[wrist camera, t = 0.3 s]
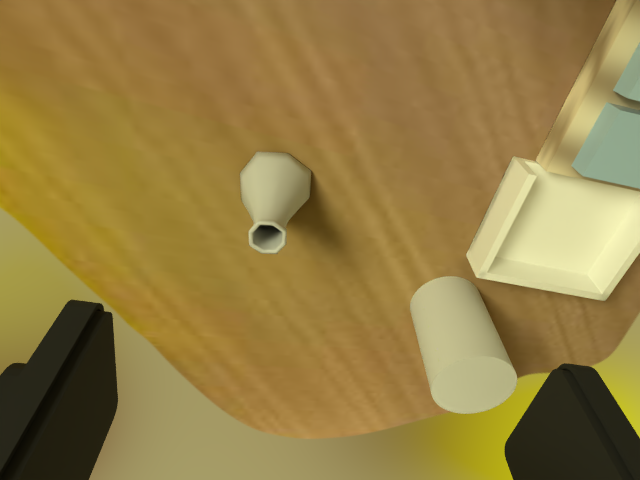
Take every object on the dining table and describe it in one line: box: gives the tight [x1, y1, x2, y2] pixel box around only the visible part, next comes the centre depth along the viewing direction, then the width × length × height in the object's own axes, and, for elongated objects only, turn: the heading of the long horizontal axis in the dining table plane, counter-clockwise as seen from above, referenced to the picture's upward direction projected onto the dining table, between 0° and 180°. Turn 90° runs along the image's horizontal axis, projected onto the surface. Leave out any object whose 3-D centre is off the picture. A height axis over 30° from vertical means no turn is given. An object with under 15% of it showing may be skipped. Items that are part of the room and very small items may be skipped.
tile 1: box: [571, 102, 640, 189], centre depth 42 cm, size 6×6×2 cm
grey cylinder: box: [410, 276, 517, 414], centre depth 51 cm, size 8×8×12 cm
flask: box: [240, 152, 311, 254], centre depth 43 cm, size 7×7×10 cm
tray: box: [466, 156, 640, 301], centre depth 48 cm, size 12×15×4 cm
